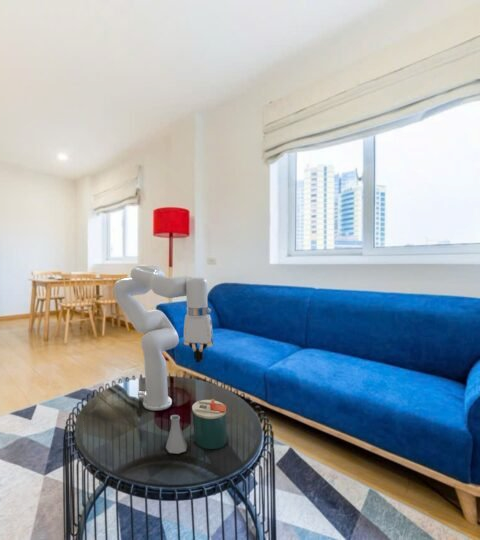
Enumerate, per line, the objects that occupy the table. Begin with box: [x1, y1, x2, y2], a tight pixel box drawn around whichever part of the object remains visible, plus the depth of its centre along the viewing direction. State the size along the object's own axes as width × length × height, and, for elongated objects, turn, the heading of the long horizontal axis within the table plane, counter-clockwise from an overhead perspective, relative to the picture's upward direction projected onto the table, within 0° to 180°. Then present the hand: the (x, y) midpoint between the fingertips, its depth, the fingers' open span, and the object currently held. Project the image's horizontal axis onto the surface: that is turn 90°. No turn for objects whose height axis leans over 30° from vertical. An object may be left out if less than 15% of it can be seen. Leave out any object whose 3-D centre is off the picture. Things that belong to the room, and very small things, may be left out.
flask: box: [165, 414, 188, 455], centre depth 94 cm, size 7×7×10 cm
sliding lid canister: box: [191, 399, 228, 450], centre depth 98 cm, size 11×11×11 cm
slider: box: [210, 398, 227, 413], centre depth 97 cm, size 5×4×2 cm
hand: (198, 361), depth 105 cm, fingers closed
